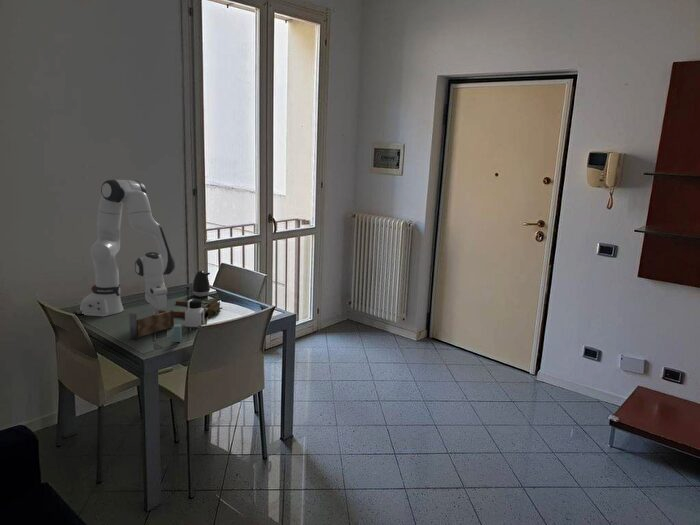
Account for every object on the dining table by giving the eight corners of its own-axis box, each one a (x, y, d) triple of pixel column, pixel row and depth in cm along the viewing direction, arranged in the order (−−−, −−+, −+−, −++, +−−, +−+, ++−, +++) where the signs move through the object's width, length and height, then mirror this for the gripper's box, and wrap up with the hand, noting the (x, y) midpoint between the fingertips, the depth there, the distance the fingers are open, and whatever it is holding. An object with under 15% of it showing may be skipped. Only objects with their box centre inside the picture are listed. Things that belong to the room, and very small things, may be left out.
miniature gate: (180, 296, 295) (229, 298, 289) (181, 305, 296) (230, 307, 290) (153, 310, 269) (207, 312, 263) (154, 320, 270) (207, 323, 264)
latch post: (173, 343, 237) (173, 326, 235) (175, 340, 240) (174, 324, 238) (180, 343, 237) (180, 326, 235) (181, 340, 240) (181, 324, 238)
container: (204, 322, 265) (204, 298, 262) (200, 327, 258) (200, 302, 255) (189, 321, 265) (188, 297, 262) (184, 326, 257) (184, 301, 254)
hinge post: (129, 340, 237) (128, 315, 234) (131, 338, 239) (130, 313, 237) (136, 340, 237) (135, 315, 234) (138, 338, 240) (137, 313, 237)
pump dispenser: (208, 298, 304) (208, 273, 300) (190, 297, 303) (189, 272, 300) (212, 293, 314) (211, 269, 310) (194, 292, 313) (194, 268, 310)
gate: (138, 337, 239) (137, 321, 237) (136, 336, 240) (135, 320, 238) (173, 326, 256) (173, 310, 254) (171, 325, 257) (171, 310, 255)
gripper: (140, 282, 255) (142, 309, 258) (155, 292, 239) (156, 321, 242) (154, 280, 259) (155, 307, 262) (168, 290, 243) (169, 318, 246)
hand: (156, 313), depth 252 cm, fingers closed
